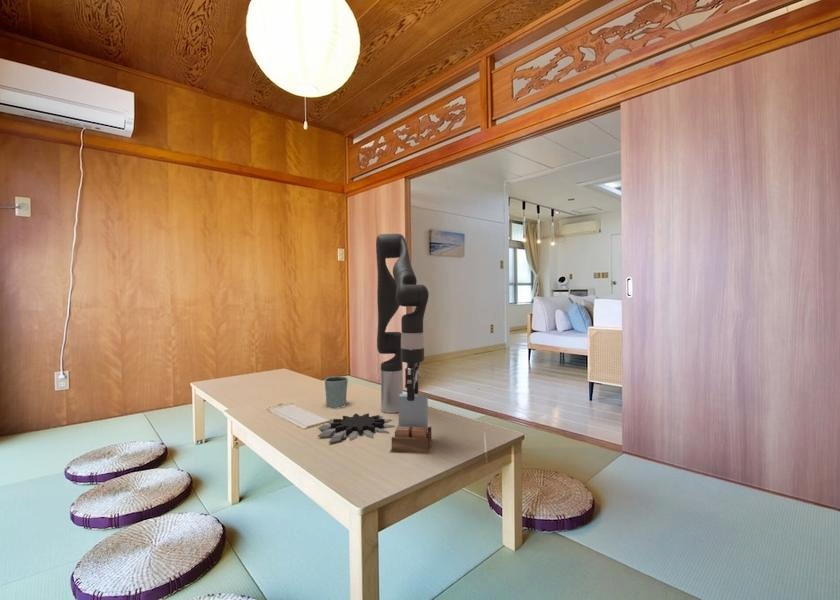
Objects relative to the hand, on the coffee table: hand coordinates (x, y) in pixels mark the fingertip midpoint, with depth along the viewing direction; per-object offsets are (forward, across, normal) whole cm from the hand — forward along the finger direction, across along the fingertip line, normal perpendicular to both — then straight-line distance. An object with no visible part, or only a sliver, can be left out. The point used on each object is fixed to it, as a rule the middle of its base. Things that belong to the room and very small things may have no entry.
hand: (412, 397), depth 123 cm
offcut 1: (+14, +5, -2) cm, 15 cm away
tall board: (+14, 0, 0) cm, 15 cm away
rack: (+16, +3, 0) cm, 16 cm away
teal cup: (+16, -42, -41) cm, 61 cm away
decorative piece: (+16, -12, -22) cm, 30 cm away
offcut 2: (+14, +5, +2) cm, 15 cm away
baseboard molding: (+16, -25, -52) cm, 60 cm away
